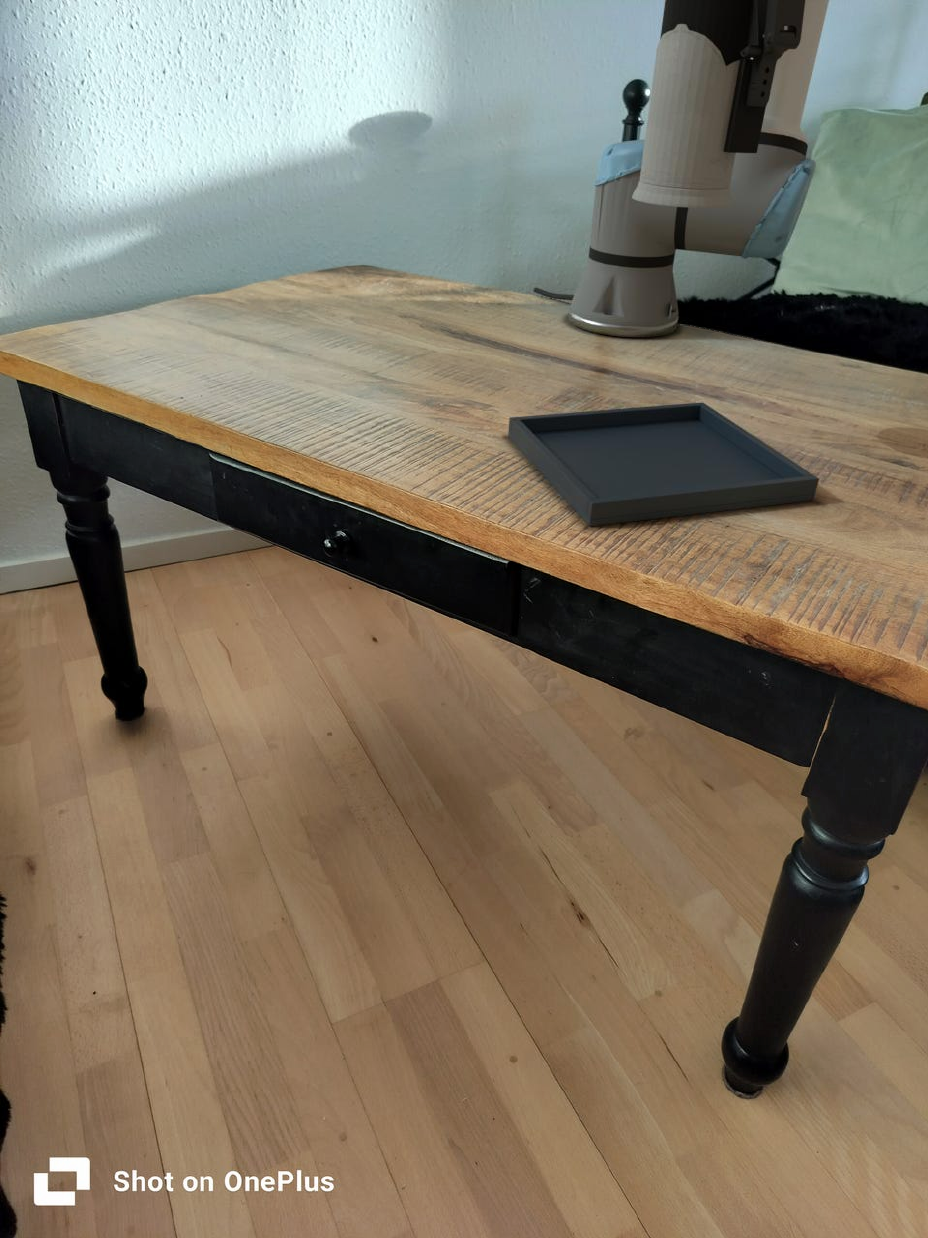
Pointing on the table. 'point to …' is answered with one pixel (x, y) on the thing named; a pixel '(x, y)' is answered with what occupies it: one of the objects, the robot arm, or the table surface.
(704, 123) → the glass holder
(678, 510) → the tray
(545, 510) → the table surface
